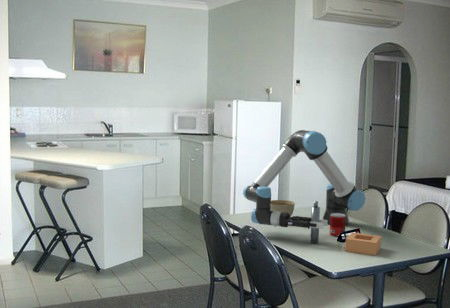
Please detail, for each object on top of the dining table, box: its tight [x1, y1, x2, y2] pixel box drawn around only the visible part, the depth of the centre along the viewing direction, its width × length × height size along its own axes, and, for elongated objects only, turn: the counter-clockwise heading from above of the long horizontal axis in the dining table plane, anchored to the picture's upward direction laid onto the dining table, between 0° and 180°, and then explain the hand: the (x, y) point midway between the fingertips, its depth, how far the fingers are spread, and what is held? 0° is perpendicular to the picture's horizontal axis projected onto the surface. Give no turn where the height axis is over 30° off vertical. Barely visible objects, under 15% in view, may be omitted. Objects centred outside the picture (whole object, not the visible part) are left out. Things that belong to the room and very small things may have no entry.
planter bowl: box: [271, 199, 296, 217], centre depth 317 cm, size 16×16×11 cm
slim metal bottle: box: [309, 200, 321, 245], centre depth 268 cm, size 4×4×21 cm
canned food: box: [329, 213, 346, 237], centre depth 286 cm, size 8×8×11 cm
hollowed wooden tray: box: [344, 232, 382, 256], centre depth 258 cm, size 14×14×6 cm
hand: (325, 224), depth 266 cm, fingers open, 6 cm apart
